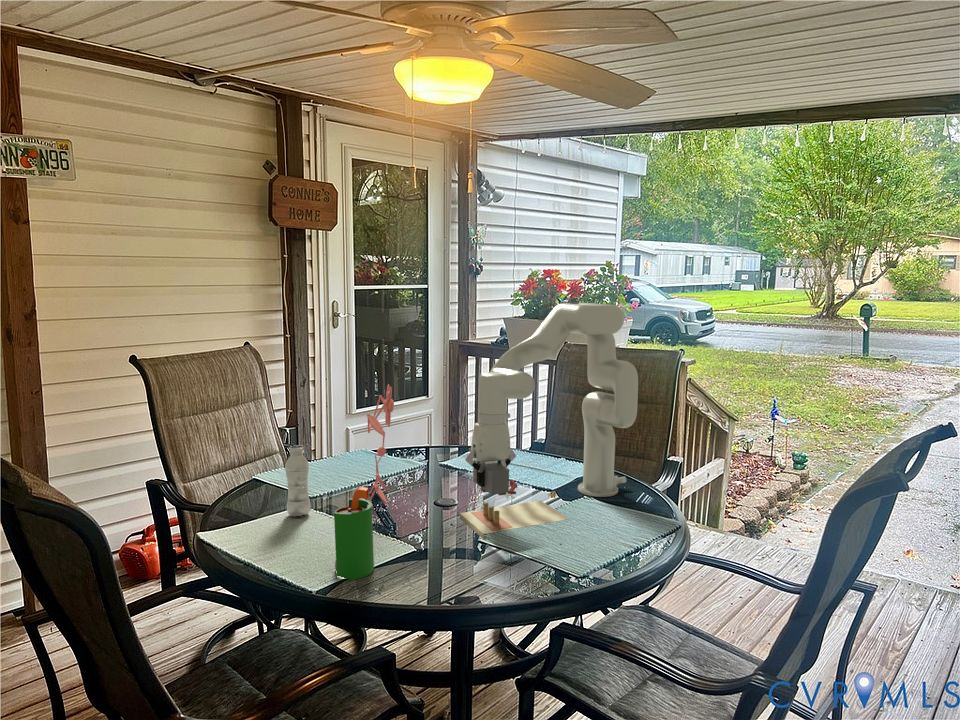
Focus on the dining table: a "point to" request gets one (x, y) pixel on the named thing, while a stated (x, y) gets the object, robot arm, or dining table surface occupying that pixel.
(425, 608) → the dining table surface
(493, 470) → the block
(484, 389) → the robot arm
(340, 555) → the green cylindrical container
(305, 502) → the plastic bottle
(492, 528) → the board
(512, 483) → the pliers
